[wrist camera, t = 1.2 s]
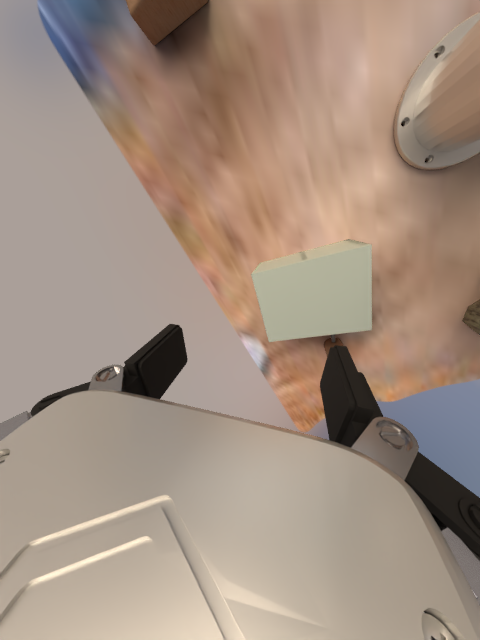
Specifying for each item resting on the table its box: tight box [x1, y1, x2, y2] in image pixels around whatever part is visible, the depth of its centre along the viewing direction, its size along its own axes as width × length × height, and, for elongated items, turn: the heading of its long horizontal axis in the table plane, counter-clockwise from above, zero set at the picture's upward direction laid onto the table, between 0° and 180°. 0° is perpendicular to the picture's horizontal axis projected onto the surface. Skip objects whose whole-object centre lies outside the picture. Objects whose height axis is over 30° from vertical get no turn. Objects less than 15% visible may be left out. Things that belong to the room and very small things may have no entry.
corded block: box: [324, 334, 343, 357], centre depth 34 cm, size 5×17×7 cm, turn 16°
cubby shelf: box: [251, 239, 372, 342], centre depth 31 cm, size 15×12×10 cm
